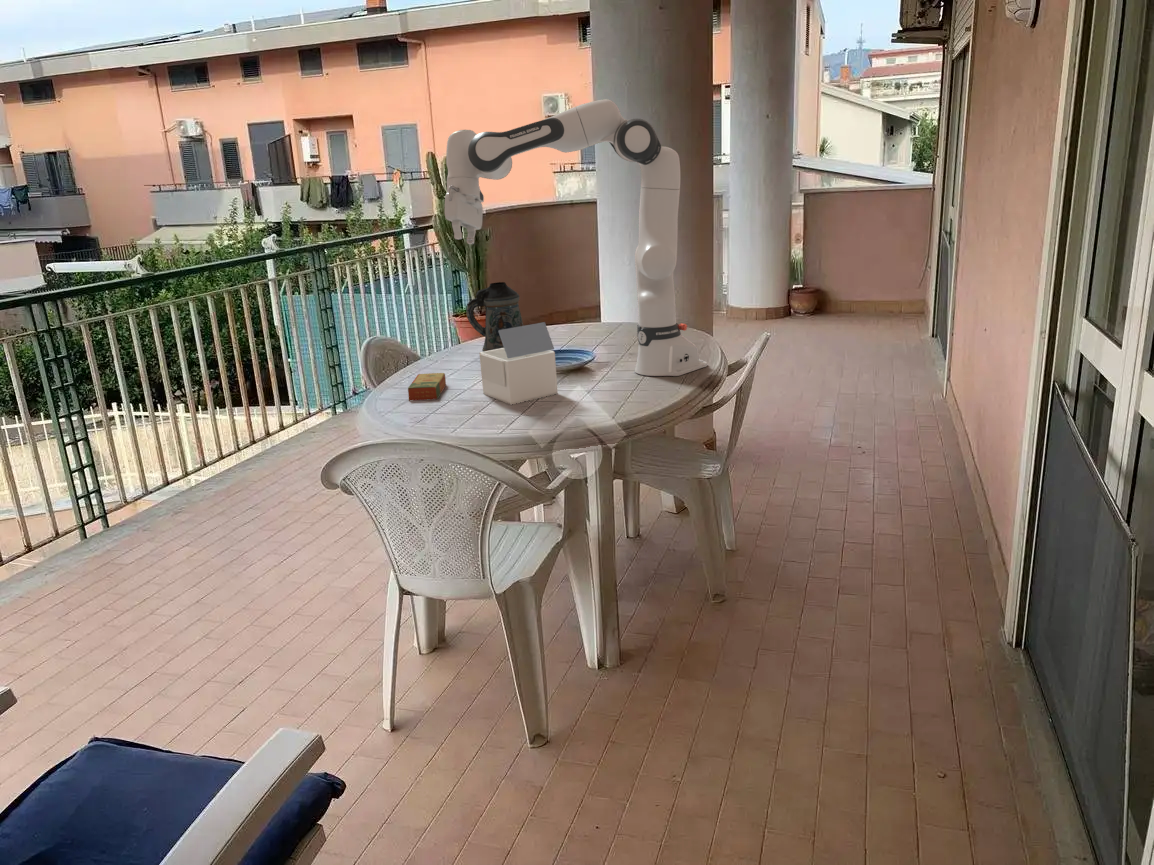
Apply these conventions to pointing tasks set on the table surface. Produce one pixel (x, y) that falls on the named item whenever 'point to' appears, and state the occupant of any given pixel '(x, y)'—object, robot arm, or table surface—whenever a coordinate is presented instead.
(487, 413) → the table surface
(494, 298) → the beer stein
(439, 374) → the carton
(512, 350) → the flap
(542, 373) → the shipping box
